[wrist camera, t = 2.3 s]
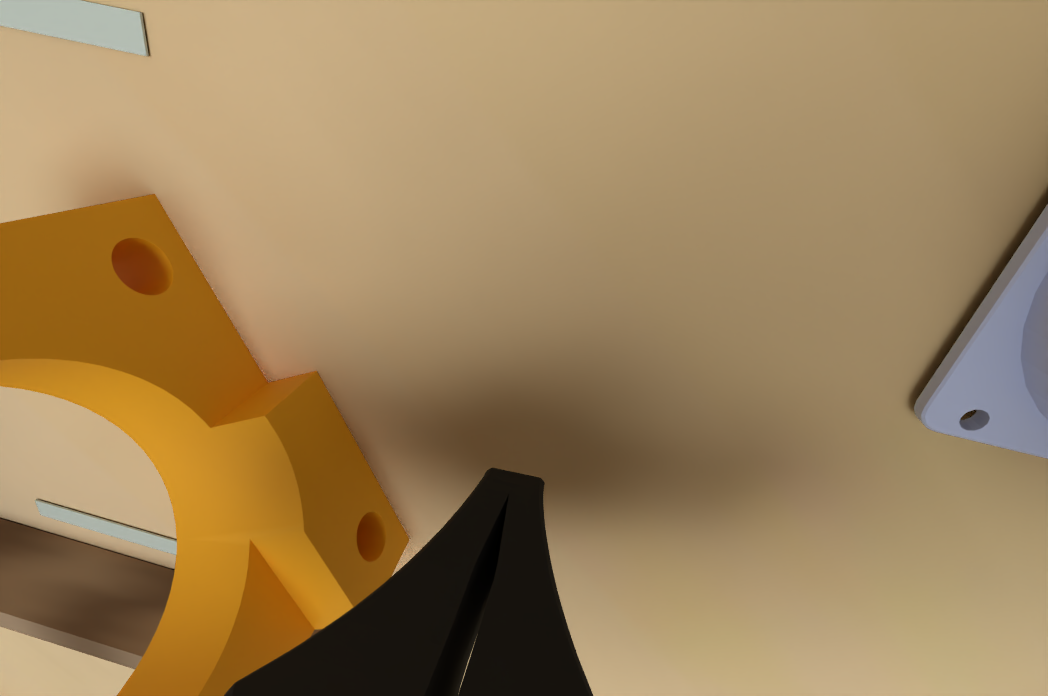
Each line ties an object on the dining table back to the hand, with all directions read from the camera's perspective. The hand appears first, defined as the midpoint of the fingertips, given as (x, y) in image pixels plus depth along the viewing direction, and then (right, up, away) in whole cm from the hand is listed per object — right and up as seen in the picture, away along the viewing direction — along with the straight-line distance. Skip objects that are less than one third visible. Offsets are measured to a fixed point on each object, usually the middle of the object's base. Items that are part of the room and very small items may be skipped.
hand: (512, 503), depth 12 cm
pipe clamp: (-7, +3, +3) cm, 8 cm away
